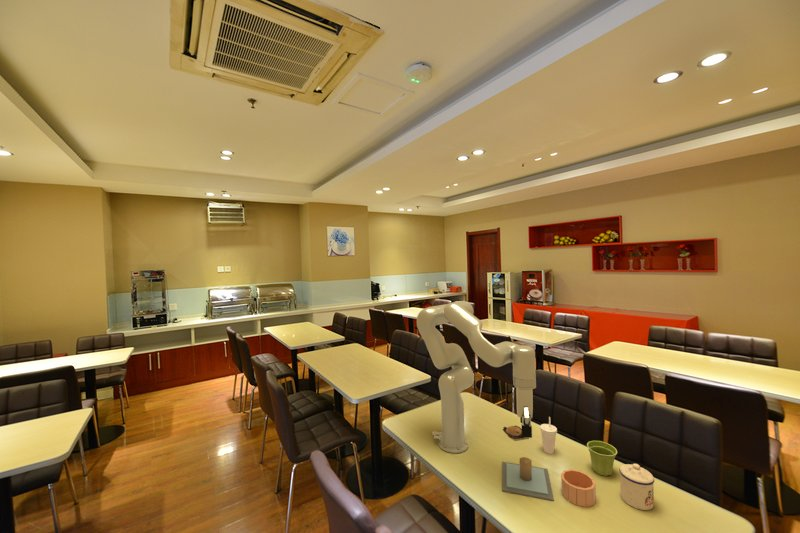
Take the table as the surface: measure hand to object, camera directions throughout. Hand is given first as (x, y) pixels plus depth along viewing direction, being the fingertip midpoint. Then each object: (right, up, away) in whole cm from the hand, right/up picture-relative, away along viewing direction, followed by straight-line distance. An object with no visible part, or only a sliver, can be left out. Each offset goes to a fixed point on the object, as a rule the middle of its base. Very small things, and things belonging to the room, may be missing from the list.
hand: (525, 429), depth 114 cm
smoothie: (+16, -18, +17) cm, 30 cm away
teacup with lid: (+33, -18, -9) cm, 38 cm away
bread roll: (+7, -18, +31) cm, 37 cm away
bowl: (+15, -18, -7) cm, 24 cm away
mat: (0, -18, +1) cm, 18 cm away
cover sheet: (0, -18, +1) cm, 18 cm away
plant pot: (+30, -18, +5) cm, 35 cm away
